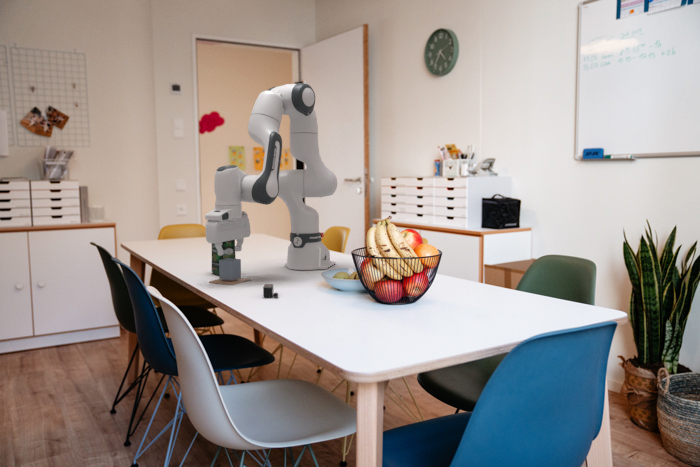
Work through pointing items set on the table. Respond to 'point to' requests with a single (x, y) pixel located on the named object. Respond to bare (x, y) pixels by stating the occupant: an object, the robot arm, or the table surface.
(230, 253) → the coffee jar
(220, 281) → the marker post
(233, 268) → the grey block
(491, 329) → the table surface
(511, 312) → the table surface
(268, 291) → the wireless earbuds
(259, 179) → the robot arm
